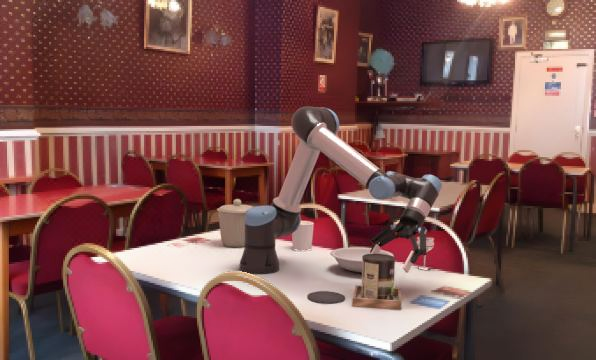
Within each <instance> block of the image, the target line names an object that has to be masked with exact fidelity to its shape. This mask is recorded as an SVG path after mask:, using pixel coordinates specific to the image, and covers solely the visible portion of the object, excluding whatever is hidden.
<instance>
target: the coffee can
mask: <svg viewBox="0 0 596 360" xmlns="http://www.w3.org/2000/svg"><path fill="white" fill-rule="evenodd" d="M362 259H363V264H362V272H361V286H362V294H360V296H361V297H360V298H370V299H384V300H394V297H395V296H394V288H395V271H396V270H395V267H396V266H395V265H396V257H395V256H394V257H393V256H391V255H385V254H366V255H363V256H362Z"/></svg>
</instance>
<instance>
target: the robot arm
mask: <svg viewBox="0 0 596 360" xmlns="http://www.w3.org/2000/svg"><path fill="white" fill-rule="evenodd" d="M291 129H292V131H293V132H294V134H295V135H296V136H297V138H298V140H299V143H298V146H297V148H296V151H295V153H294V155H293V159H292V161H291V164H290V166H289V169H288V172H287V175H286V176H285V179H284V182H283V184H282V187H281V189H280V192H279V194H278V196H277V197H274V198H273V199H272V202H271V205H258V206H257V205H256V206H253V207H252V208H249V209H248V210H247V211H246V213H245V220H244V221H245V247H243V253H242V255H241V258H240V261H239V270H240V271H242V272H244V271H245V272H244V273H249V274H261V275H262V274H272V273H275V272H276V273H277V272H278V271H279V270H280V261H279V257H278V253H277V251H276V239H278V238H282V237H288V236H289V235H292V233H294V232H295V231H296V230H297V229H298V228H299V226H300V223H301V221H302V217H301V210H302V208H301V206H300V202H301V201H302V198H303V195H304V194H305V190H306V188H307V187H308V186H307V185H308V183H309V181H310V178H311V176H312V173H313V170H314V168H315V165H316V163H317V160H318V159H319V155H320V153H323V154H324V155H325V156H326V157H328V158H329V159H330V160H331V161H332V162H334V163H335V164H336V165H338V166H339V167H340V168H342V170H345V171H346V172H347V173H348V174H349V175H350V176H352V177H353V178H355V179H356V180H357V181H358V182H359V183H361V184H362V185H363V186H364V187H366V188H367V189H368V191H369V194H370V195H371V197H372V198H373V199H376V200H381V201H382V200H383V201H384V200H386V201H387V200H389V199H393V198H397V197H401V198H404V199H405V198H406V199H409V200H408V202H407V204H406V206H405V208H404V209H403V212H402V214H401V215H400V218H399V222H397V223H394V222H393V221H390V222H388V224H387V225H386V226H385V227H384V228H383V229H381V230H380V231H379V232H378V233H376V235H374V236H373V237H372V238H370V243H371V244H372V247H371V248H372V249H371V251H370V253H371V254H379V252H380V250H382V249H381V247H383V246H385V245H387V244H388V243H391V242H392V241H395V240H398V239H405V240H409V239H410V242H411V245H412V248H413V250H411V251H410V253H409V255H408V257H407V258H406V260H405V263H404V264H403V266H402V269H403V271H404V273H406V274H408V273H409V272H410V270H411V268H412V266H413V264H416V263H417V260H418V259H419V257H420V256H424V255H426V256H427V254H428V251H426V237H427V235H428V233H429V232H428V230H427V228H426V226H423V225H424V223H425V221H426V219H427V217H428V215H429V213H430V211H431V210H432V207H433V206H434V204H435V202H436V200H437V199H438V197H439V196H440V193H441V190H442V189H443V184H442V181H441V179H439V177H438V176H435V175H433V174H424V175H423V176H422V177H421V178H416V177H412V176H409V175H406V174H402V173H400V172H396V171H391V170H389V171H386V172H385V171H384V170H382V169H381V168H379V167H378V166H377V165H375V164H374V163H373V162H372V161H370V160H369V159H368V158H366V157H365V156H364V155H362V154H361V153H359V152H358V151H357V150H356V149H355V148H353V147H352V146H351V145H349V144H348V143H347V142H346V141H344V140H343V139H341V138H340V137H339V136H338V135H337V133H338V132H339V129H340V120H339V118H338V115H337V114H336V113H335V112H334V111H333V110H331V109H330V108H326V107H325V106H320V107H319V106H311V105H310V106H307V105H306V106H302V107H300V108H298V109H297V110H296V111H295V112H294V113H293V114H292V117H291ZM417 234H419V237H420V249H419V248H418V245H417V237H416V235H417Z"/></svg>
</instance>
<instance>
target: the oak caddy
mask: <svg viewBox="0 0 596 360" xmlns="http://www.w3.org/2000/svg"><path fill="white" fill-rule="evenodd" d="M401 289H402V288H401V287H394V297H397V300H396V299H395V300H394V299H393V300H384V299H370V298H361V297H358V294H359V295H361V294H362V285H355V286H354V291H353V295H352V304H351V305H352V307H361V308H363V307H364V308H374V309H386V310H387V309H388V310H389V309H390V310H399V311H400V310H402V291H401Z"/></svg>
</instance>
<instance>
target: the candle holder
mask: <svg viewBox="0 0 596 360" xmlns="http://www.w3.org/2000/svg"><path fill="white" fill-rule="evenodd" d="M314 226H315V223H314V222H313V221H310V220H301V223H300V226H299V228H298V229H297V230H296V231H295V232H294V233H292V234H291V238H292V239H291V240H292V241H291V242H292V244H291V245H292V249H293V248H294V249H297V250H308V249H311V250H312V245H313V235H314Z"/></svg>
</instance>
